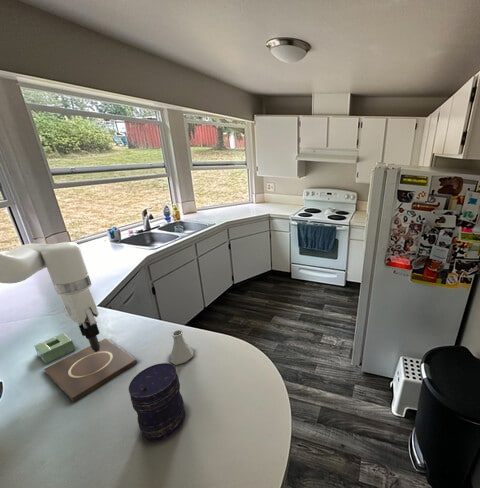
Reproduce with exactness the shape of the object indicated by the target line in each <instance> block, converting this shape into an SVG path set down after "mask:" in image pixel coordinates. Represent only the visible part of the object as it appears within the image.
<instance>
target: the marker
mask: <svg viewBox="0 0 480 488" xmlns="http://www.w3.org/2000/svg"><path fill="white" fill-rule="evenodd" d="M86 322H88V321H86ZM87 341H88V343H89V345H90V346H91V348H92V350H94V352H98V351H99V350H100V344H99V339H98V335H96V336H94V337H92V338H90V339H87Z"/></svg>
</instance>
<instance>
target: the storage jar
mask: <svg viewBox="0 0 480 488" xmlns="http://www.w3.org/2000/svg"><path fill="white" fill-rule="evenodd" d="M128 393H129V397H130V402H131V405H132V408H133V410H134V411H135V412H136V413H137V414H136V415H137V423H138V427H139V431H140V432H141V435H142V438H143V439H144V441H147V442H149V443H158V442H162V441H164V440H166V439H168V438H170V437H171V436H173V435H174V434H175V433H177V432H178V430H180V428H181V427H182V426H183V424H184V422H185V421H186V415H187V414H186V409H185V401H184V398H183V395H182V393H181V382H180V379H179V375H178V371H177V368H176V365H175V364H173V363H168V362H162V363H157V364H153V365H150V366H148V367H146V368H144V369H143V370H141V371H140V372H138V373H137V374H136V375H135V376H134V377H133V378H132V379H131V381H130V383H129V385H128Z"/></svg>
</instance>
